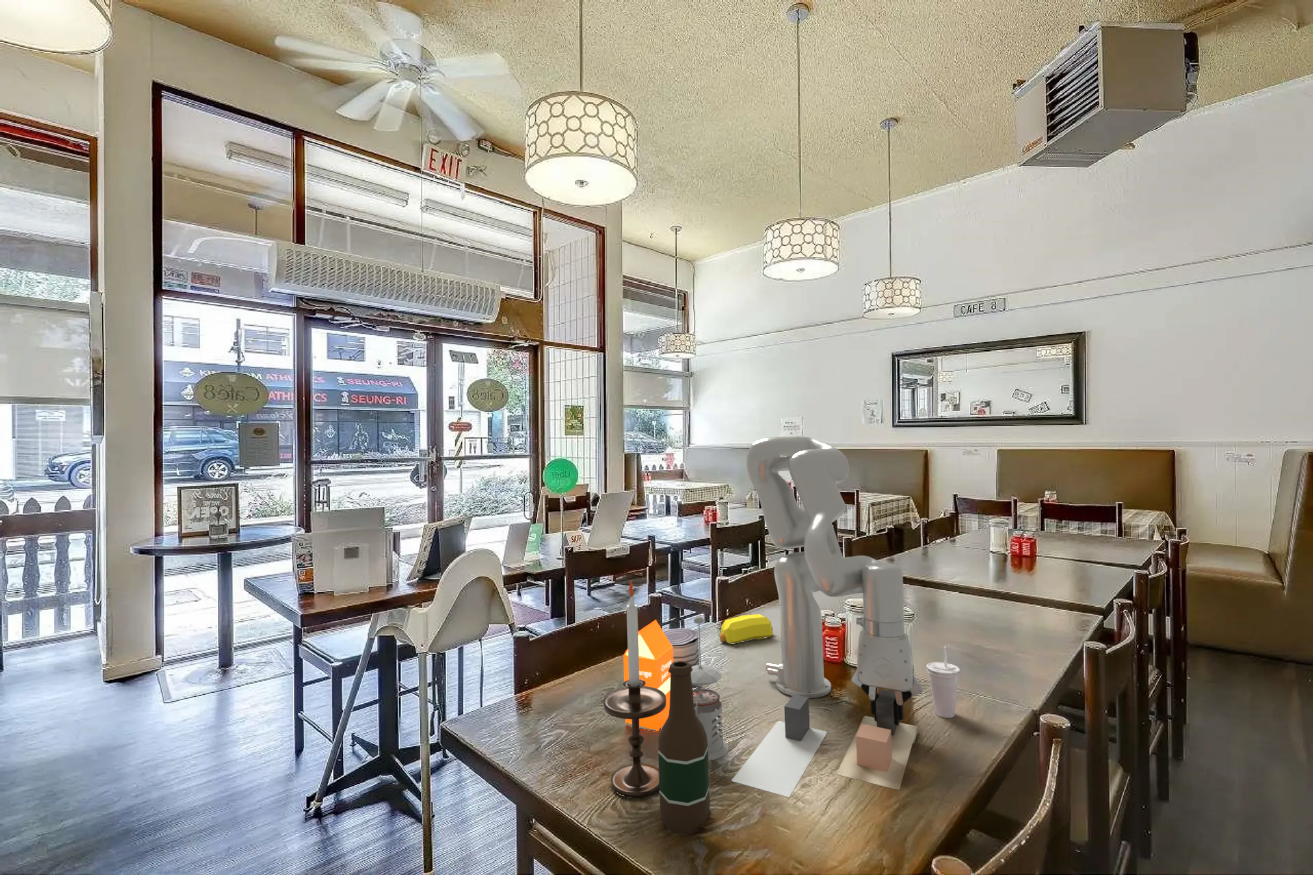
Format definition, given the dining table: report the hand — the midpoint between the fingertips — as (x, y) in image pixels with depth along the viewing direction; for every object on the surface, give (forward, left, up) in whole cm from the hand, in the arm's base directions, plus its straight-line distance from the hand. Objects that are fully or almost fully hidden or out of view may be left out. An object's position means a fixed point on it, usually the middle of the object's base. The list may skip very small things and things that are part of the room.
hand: (887, 719), depth 115 cm
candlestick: (-35, -37, -3) cm, 51 cm away
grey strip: (-15, -19, -3) cm, 24 cm away
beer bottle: (-23, -42, -3) cm, 48 cm away
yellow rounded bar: (-46, +41, -3) cm, 62 cm away
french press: (-30, -22, -3) cm, 37 cm away
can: (-49, +3, -3) cm, 49 cm away
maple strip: (0, -9, -3) cm, 9 cm away
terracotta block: (0, -14, -2) cm, 14 cm away
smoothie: (+9, +14, -3) cm, 17 cm away
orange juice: (-45, -16, -3) cm, 48 cm away
